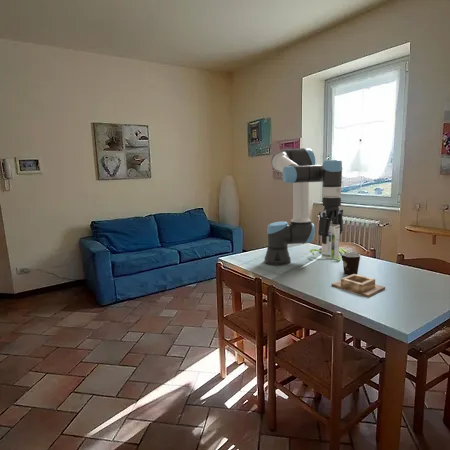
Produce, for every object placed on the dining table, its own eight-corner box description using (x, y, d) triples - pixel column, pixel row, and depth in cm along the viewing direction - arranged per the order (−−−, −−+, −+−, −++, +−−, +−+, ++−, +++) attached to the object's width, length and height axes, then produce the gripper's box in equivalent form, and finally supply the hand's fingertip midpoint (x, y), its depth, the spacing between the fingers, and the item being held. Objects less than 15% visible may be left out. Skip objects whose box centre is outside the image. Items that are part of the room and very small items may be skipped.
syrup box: (321, 257, 144) (321, 225, 141) (327, 254, 148) (328, 222, 146) (333, 259, 140) (334, 226, 138) (339, 256, 144) (340, 224, 142)
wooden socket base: (331, 285, 152) (331, 277, 152) (348, 279, 160) (349, 271, 160) (368, 297, 138) (368, 288, 137) (385, 289, 146) (385, 280, 146)
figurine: (306, 259, 198) (306, 250, 197) (321, 249, 219) (321, 241, 218) (337, 263, 187) (337, 254, 186) (350, 253, 208) (350, 244, 207)
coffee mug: (361, 276, 163) (362, 257, 162) (342, 276, 165) (343, 256, 163) (356, 269, 174) (357, 251, 173) (339, 269, 176) (340, 250, 174)
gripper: (324, 199, 131) (323, 255, 135) (352, 195, 142) (351, 247, 146) (309, 198, 137) (309, 251, 141) (337, 194, 148) (336, 244, 152)
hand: (330, 249), depth 144 cm, fingers closed on syrup box, 6 cm apart
